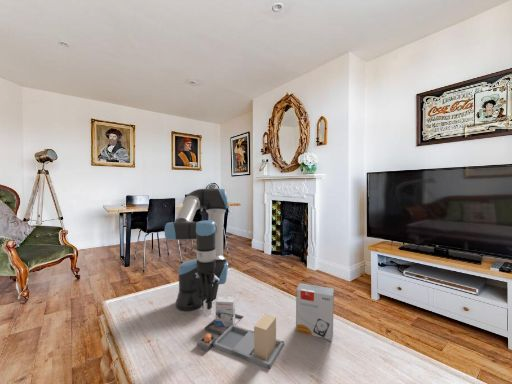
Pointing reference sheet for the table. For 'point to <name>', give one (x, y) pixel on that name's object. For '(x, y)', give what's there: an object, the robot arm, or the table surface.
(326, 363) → the table surface
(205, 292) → the robot arm
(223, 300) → the ink box
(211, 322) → the frame
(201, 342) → the housing
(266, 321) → the billet
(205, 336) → the brown egg
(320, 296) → the hard drive box
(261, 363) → the grey rectangular tray
